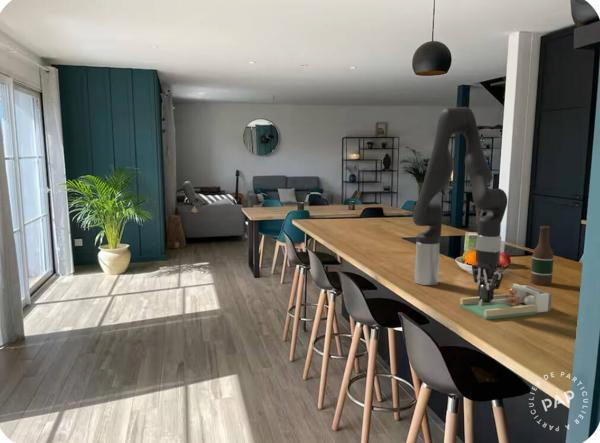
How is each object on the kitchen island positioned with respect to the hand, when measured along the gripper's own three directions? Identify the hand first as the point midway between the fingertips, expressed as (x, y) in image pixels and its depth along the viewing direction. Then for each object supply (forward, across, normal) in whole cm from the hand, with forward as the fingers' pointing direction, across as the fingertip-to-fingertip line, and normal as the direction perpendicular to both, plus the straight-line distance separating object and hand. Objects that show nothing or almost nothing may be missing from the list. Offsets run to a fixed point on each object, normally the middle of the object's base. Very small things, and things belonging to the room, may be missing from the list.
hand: (485, 298), depth 160 cm
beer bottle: (+5, -25, +45) cm, 51 cm away
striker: (+3, 0, +5) cm, 6 cm away
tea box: (+5, -64, +44) cm, 78 cm away
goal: (+5, 0, +18) cm, 19 cm away
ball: (+3, 0, +19) cm, 19 cm away
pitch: (+5, 0, +5) cm, 7 cm away
